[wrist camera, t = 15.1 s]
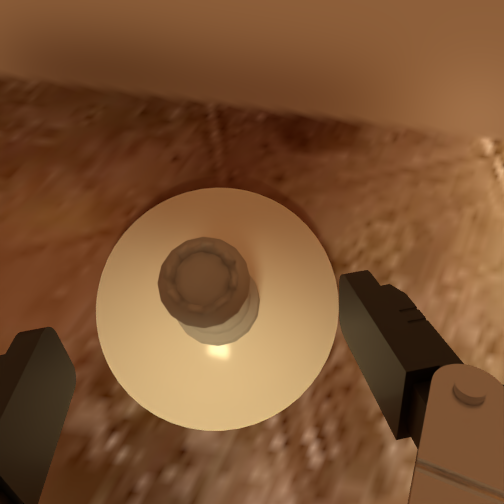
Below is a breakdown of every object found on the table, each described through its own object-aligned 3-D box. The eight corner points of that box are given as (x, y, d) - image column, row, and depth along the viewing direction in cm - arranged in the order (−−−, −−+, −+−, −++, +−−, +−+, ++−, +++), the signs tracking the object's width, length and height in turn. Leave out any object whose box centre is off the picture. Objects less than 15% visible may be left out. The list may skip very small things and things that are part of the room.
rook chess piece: (195, 251, 21) (164, 194, 13) (271, 278, 20) (286, 237, 13) (163, 328, 20) (109, 317, 12) (242, 358, 19) (241, 366, 12)
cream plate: (113, 449, 19) (106, 454, 18) (94, 213, 22) (87, 207, 21) (359, 400, 20) (365, 403, 19) (307, 178, 23) (310, 171, 22)
